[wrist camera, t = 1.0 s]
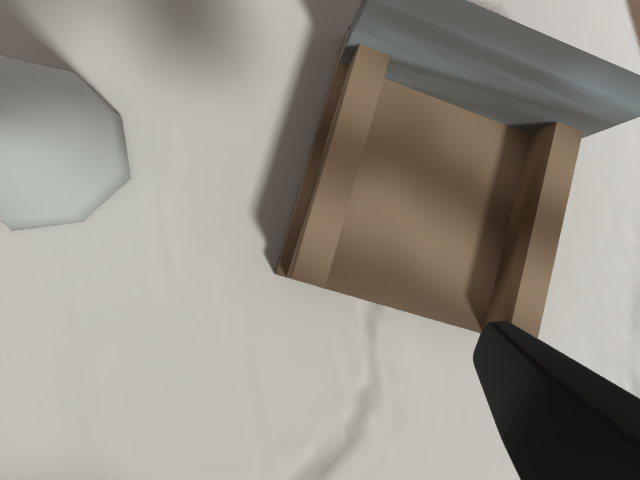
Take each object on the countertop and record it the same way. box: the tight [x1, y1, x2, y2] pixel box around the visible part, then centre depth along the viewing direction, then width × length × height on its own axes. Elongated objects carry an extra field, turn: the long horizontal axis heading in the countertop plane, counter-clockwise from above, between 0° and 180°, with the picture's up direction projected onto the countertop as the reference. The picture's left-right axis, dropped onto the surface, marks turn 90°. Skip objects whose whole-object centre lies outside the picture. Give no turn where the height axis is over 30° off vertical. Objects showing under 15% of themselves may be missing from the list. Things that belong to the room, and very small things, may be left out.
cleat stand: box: [275, 0, 640, 339], centre depth 19 cm, size 13×13×6 cm
